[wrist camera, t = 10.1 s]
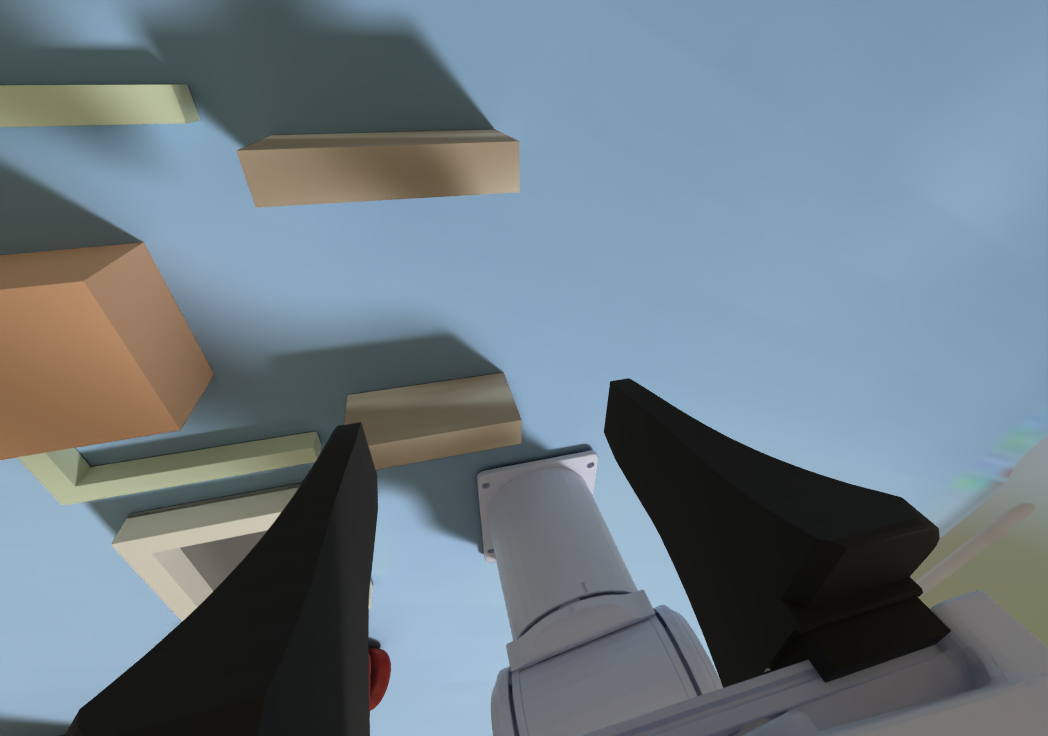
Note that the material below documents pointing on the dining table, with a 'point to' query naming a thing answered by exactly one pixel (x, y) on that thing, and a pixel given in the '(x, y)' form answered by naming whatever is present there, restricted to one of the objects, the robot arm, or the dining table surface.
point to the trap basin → (198, 543)
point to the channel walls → (384, 174)
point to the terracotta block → (92, 350)
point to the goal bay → (83, 483)
